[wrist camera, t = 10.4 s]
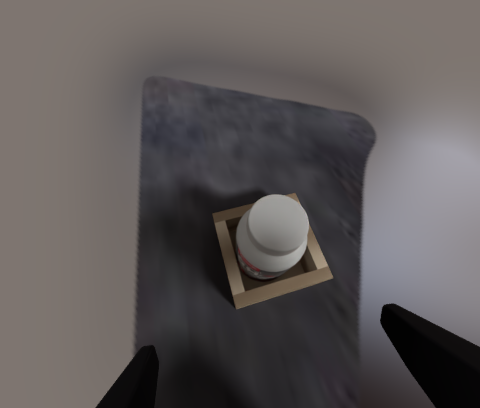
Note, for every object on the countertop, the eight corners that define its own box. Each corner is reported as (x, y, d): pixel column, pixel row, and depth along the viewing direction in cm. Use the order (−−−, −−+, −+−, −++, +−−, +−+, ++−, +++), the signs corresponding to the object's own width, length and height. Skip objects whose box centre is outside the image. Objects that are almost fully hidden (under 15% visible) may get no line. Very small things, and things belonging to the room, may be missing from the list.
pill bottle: (230, 276, 22) (227, 251, 13) (241, 226, 24) (246, 177, 16) (284, 289, 22) (318, 272, 13) (290, 237, 24) (323, 193, 15)
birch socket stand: (317, 283, 22) (333, 277, 19) (236, 309, 21) (236, 308, 18) (286, 209, 26) (295, 192, 22) (215, 228, 25) (212, 213, 21)
